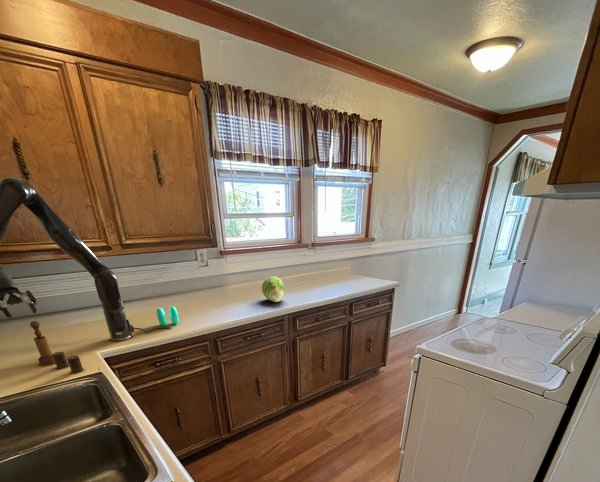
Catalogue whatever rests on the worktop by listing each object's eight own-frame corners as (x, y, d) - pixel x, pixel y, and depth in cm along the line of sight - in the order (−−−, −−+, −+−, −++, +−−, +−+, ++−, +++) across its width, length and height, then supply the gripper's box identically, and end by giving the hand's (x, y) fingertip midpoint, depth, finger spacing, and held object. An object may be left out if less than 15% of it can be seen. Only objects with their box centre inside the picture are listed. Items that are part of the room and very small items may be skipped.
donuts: (180, 325, 185) (177, 308, 181) (161, 328, 181) (158, 310, 176) (176, 321, 193) (173, 304, 188) (158, 324, 188) (155, 306, 184)
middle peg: (67, 364, 136) (62, 350, 134) (70, 366, 134) (65, 353, 131) (56, 366, 134) (51, 353, 131) (58, 369, 131) (53, 355, 129)
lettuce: (276, 313, 234) (260, 297, 225) (270, 300, 252) (256, 285, 243) (293, 297, 230) (278, 280, 221) (286, 285, 248) (272, 269, 239)
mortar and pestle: (36, 364, 136) (19, 322, 128) (51, 358, 141) (36, 318, 133) (47, 366, 134) (30, 324, 126) (62, 361, 139) (47, 319, 131)
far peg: (81, 368, 133) (77, 354, 130) (84, 371, 130) (79, 357, 127) (70, 371, 130) (65, 357, 127) (73, 374, 128) (68, 359, 125)
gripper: (-21, 279, 128) (0, 312, 127) (22, 275, 138) (42, 305, 137) (-19, 291, 133) (2, 323, 132) (22, 286, 143) (42, 316, 143)
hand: (22, 314), depth 135 cm, fingers open, 8 cm apart
